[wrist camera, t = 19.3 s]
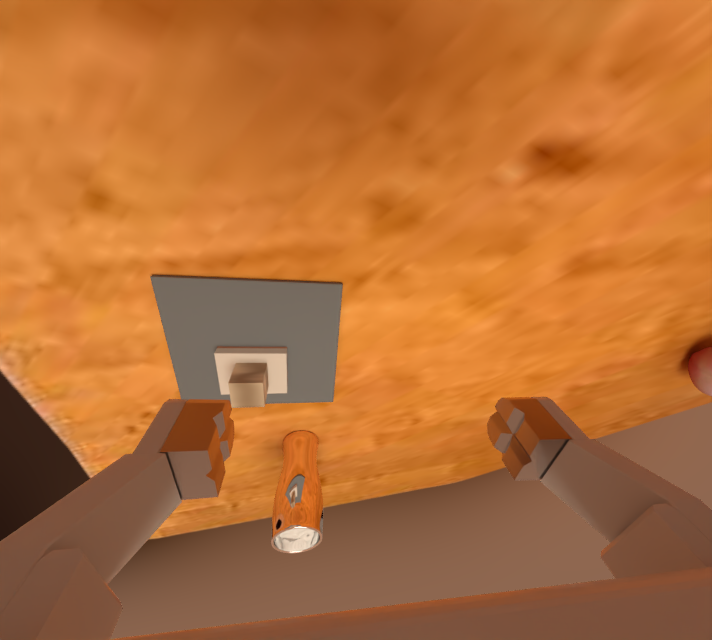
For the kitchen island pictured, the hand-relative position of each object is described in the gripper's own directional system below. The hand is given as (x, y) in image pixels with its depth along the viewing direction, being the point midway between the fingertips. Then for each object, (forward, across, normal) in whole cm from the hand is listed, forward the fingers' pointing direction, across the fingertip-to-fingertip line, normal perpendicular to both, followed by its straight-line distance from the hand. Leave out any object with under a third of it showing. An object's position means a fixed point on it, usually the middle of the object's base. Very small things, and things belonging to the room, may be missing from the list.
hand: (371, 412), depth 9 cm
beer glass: (+28, +3, +38) cm, 47 cm away
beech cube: (+26, +10, +20) cm, 34 cm away
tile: (+26, +5, +20) cm, 34 cm away
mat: (+28, +9, +18) cm, 34 cm away
